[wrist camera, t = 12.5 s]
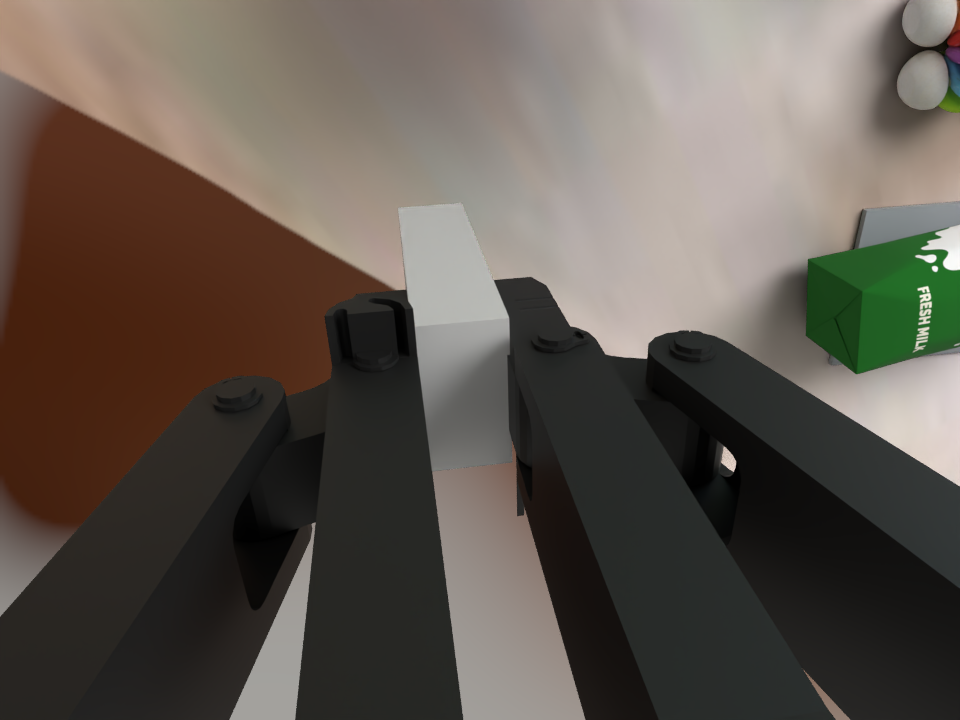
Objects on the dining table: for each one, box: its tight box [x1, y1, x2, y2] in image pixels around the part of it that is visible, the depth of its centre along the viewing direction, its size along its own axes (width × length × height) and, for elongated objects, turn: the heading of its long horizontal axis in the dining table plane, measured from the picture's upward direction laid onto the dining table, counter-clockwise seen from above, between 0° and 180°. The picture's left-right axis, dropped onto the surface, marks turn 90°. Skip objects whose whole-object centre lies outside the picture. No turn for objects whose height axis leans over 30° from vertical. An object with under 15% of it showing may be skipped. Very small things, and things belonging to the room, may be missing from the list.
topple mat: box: [829, 201, 960, 365], centre depth 60 cm, size 20×14×1 cm
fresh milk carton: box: [806, 225, 960, 374], centre depth 54 cm, size 9×9×20 cm
